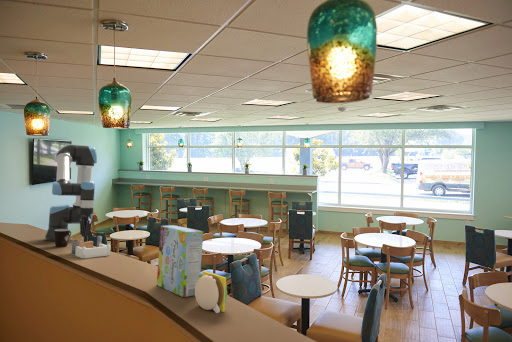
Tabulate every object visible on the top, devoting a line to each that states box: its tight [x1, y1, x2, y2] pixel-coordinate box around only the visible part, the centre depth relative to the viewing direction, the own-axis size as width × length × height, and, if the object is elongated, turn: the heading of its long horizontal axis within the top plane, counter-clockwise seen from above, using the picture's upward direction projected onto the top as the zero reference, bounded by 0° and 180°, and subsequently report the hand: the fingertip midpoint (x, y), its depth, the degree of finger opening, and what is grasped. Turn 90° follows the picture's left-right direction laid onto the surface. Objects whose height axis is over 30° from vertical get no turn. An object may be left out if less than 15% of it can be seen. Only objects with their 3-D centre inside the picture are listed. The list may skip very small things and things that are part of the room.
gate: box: [71, 239, 94, 253], centre depth 214 cm, size 13×3×7 cm, turn 153°
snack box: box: [156, 224, 204, 298], centre depth 154 cm, size 22×9×26 cm, turn 43°
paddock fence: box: [69, 235, 111, 259], centre depth 210 cm, size 15×17×9 cm
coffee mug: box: [54, 228, 72, 248], centre depth 230 cm, size 12×9×10 cm
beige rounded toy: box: [194, 270, 228, 314], centre depth 134 cm, size 12×8×12 cm
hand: (84, 247), depth 217 cm, fingers closed
